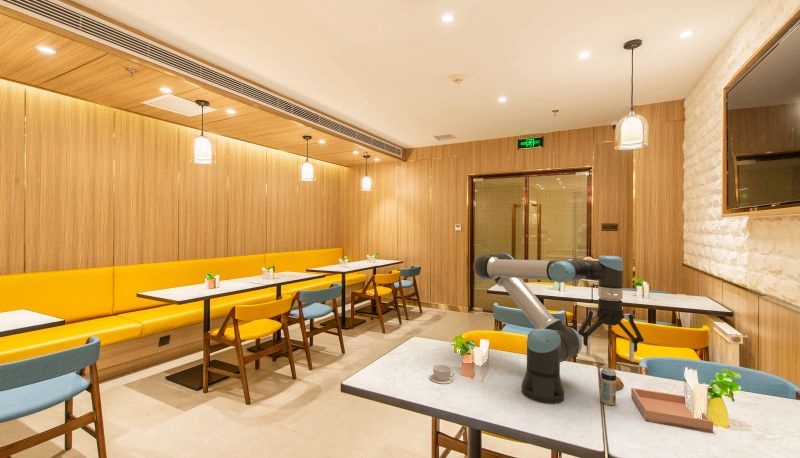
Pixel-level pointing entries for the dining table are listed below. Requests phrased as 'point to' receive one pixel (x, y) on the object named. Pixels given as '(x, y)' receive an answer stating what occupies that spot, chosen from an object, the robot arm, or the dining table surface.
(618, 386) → the pastry
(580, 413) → the dining table surface
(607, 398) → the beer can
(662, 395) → the terracotta dish
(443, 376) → the teacup
